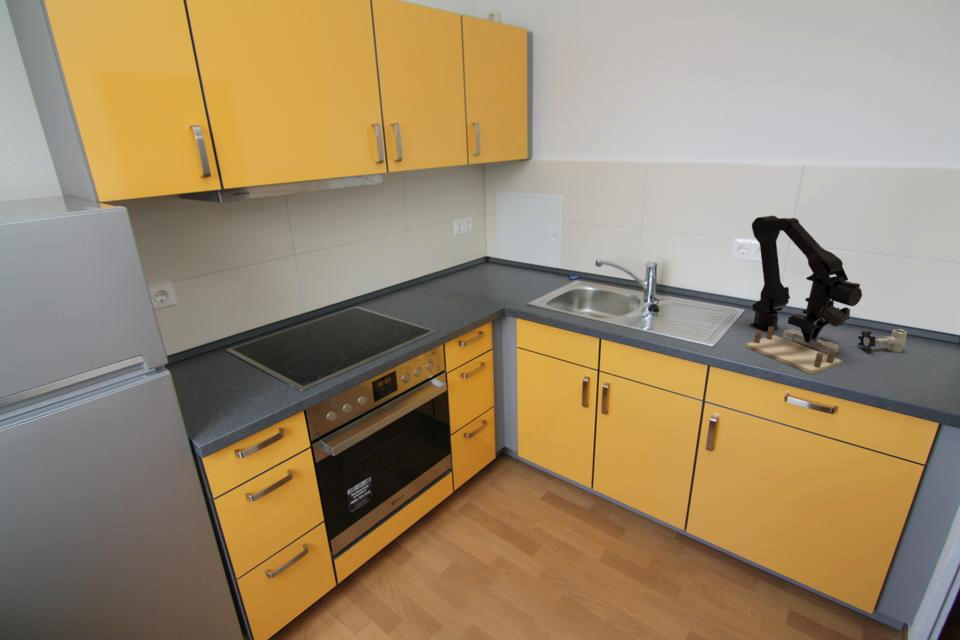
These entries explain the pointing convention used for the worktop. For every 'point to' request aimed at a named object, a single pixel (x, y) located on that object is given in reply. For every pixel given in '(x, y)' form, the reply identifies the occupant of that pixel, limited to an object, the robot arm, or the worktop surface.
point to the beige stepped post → (814, 342)
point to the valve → (884, 340)
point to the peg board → (792, 353)
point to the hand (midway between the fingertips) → (809, 341)
